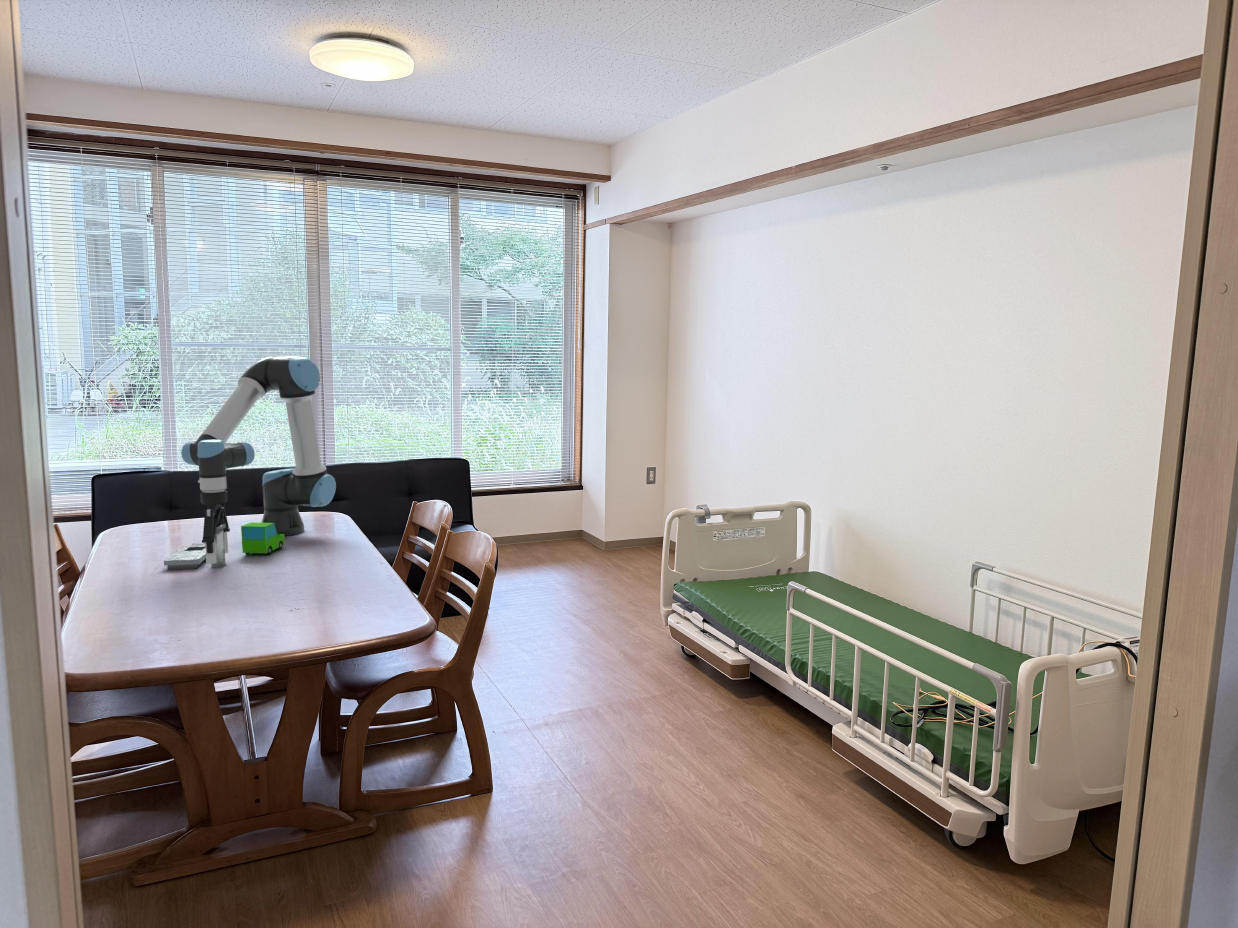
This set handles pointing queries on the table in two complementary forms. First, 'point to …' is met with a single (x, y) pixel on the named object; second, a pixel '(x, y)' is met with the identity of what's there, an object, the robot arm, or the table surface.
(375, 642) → the table surface
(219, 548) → the pin
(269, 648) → the table surface
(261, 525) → the toy car
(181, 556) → the plate with square hole
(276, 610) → the table surface
